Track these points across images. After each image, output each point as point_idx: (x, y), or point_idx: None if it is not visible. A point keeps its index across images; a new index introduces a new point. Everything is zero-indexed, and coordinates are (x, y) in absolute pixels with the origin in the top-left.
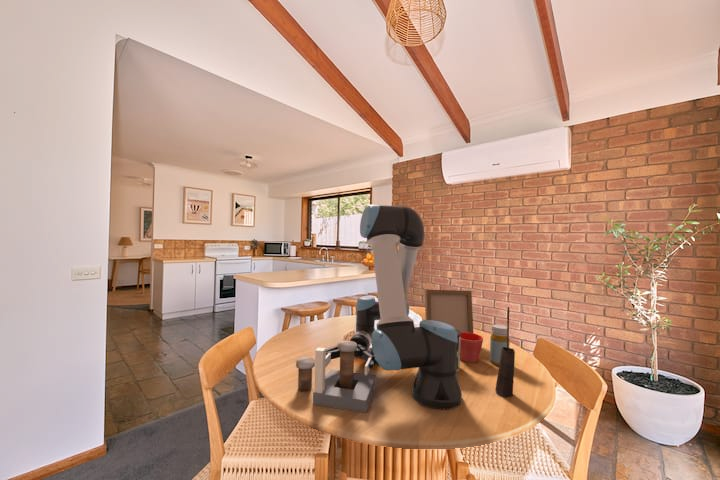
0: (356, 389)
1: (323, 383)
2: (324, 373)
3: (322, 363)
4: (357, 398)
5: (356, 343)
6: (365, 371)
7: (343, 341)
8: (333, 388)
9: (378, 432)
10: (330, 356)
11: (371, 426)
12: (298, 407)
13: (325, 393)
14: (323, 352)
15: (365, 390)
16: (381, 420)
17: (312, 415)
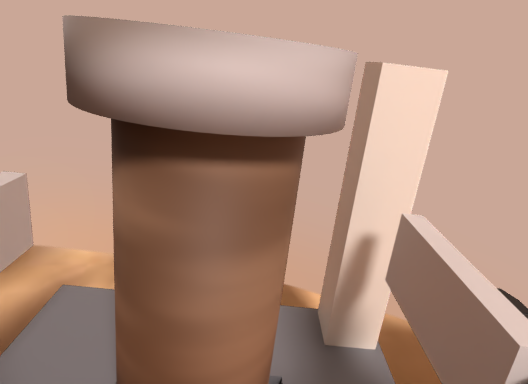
0: (101, 370)
1: (329, 283)
2: (341, 238)
3: (352, 148)
4: (110, 293)
5: (66, 17)
6: (23, 215)
7: (309, 45)
8: (275, 359)
9: (48, 262)
10: (492, 369)
11: (65, 280)
12: (398, 340)
13: (299, 313)
14: (364, 74)
15: (27, 366)
16: (2, 306)
17: (310, 307)
